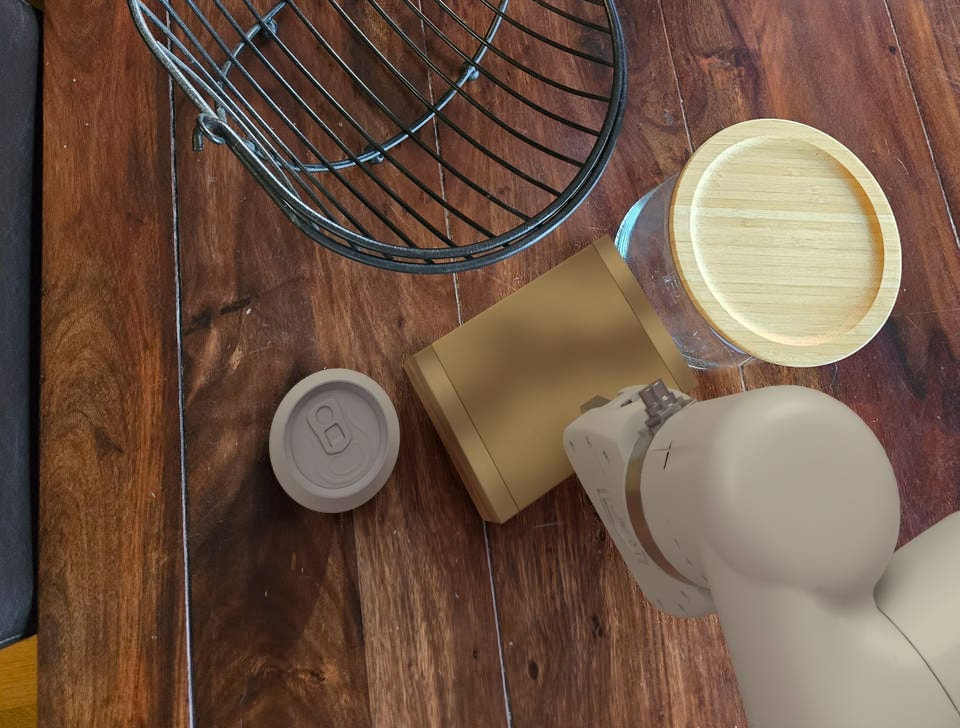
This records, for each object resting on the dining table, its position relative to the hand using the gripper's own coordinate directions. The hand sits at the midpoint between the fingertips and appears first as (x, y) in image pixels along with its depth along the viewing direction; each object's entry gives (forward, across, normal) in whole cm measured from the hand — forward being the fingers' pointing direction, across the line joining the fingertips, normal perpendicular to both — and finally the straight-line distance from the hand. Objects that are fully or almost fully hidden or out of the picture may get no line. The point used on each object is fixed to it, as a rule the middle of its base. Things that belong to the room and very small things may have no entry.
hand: (612, 493), depth 68 cm
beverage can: (+3, -11, -13) cm, 17 cm away
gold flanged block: (+3, -8, 0) cm, 8 cm away
